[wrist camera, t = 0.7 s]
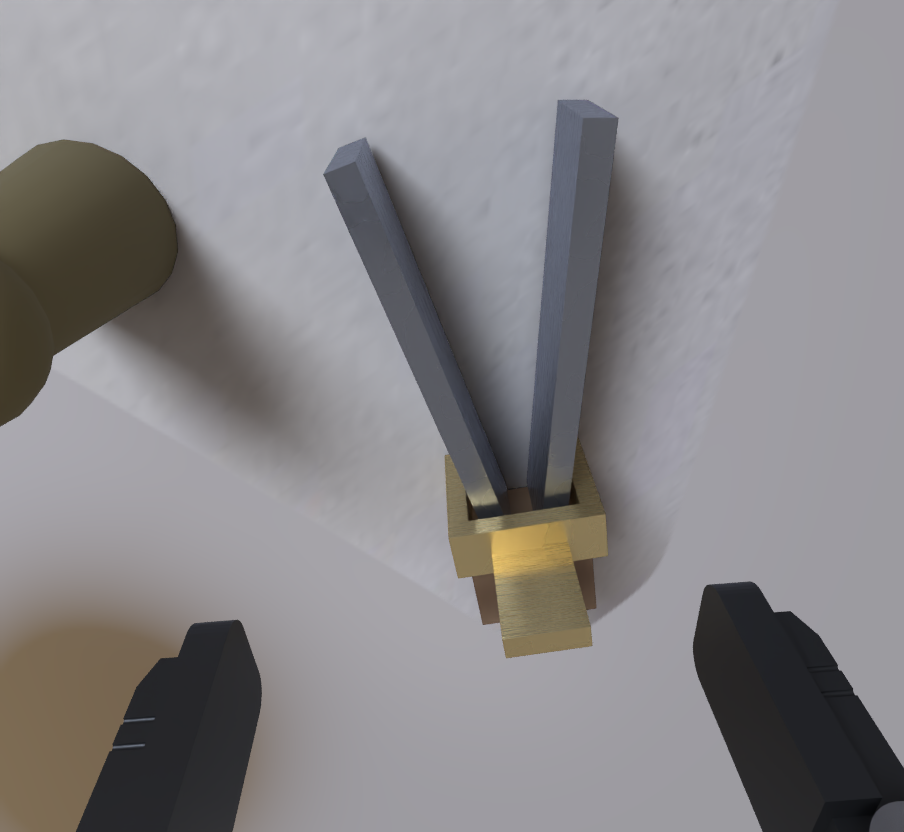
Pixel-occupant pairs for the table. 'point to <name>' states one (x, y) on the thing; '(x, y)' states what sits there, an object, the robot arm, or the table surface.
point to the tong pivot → (486, 583)
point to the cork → (72, 255)
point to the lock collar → (532, 561)
